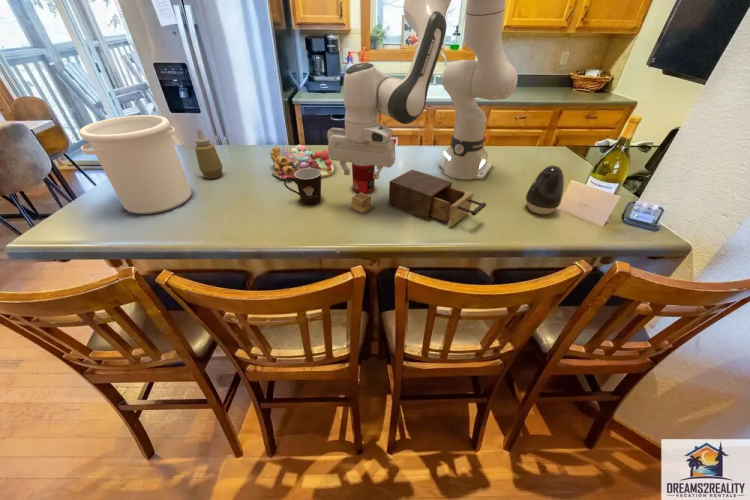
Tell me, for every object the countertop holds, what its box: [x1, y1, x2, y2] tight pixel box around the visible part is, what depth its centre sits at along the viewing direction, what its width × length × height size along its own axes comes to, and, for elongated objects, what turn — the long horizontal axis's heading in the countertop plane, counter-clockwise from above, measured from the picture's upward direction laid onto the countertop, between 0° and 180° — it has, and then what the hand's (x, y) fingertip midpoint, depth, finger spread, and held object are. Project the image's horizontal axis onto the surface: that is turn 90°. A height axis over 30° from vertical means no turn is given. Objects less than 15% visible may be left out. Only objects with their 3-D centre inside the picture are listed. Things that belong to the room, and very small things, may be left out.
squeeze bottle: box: [194, 128, 223, 180], centre depth 119 cm, size 8×8×18 cm
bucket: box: [79, 114, 192, 215], centre depth 101 cm, size 26×22×25 cm
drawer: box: [430, 186, 487, 227], centre depth 99 cm, size 20×11×7 cm, turn 50°
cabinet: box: [388, 169, 453, 221], centre depth 104 cm, size 16×13×9 cm
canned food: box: [351, 163, 376, 194], centre depth 113 cm, size 8×8×11 cm
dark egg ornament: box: [525, 165, 565, 215], centre depth 100 cm, size 10×10×15 cm
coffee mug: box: [283, 168, 322, 207], centre depth 106 cm, size 12×9×10 cm
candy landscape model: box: [269, 144, 335, 182], centre depth 128 cm, size 25×24×9 cm
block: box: [351, 192, 372, 214], centre depth 104 cm, size 4×4×4 cm
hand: (361, 176), depth 98 cm, fingers open, 8 cm apart
